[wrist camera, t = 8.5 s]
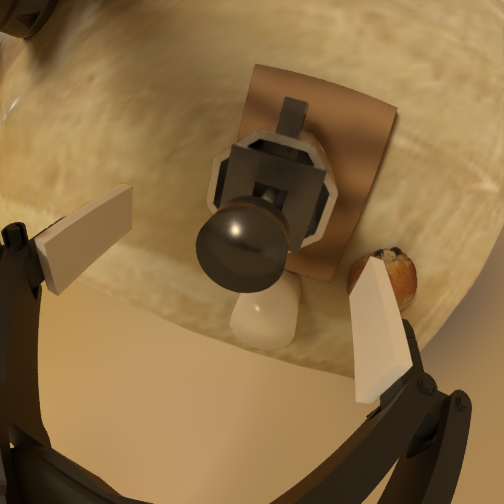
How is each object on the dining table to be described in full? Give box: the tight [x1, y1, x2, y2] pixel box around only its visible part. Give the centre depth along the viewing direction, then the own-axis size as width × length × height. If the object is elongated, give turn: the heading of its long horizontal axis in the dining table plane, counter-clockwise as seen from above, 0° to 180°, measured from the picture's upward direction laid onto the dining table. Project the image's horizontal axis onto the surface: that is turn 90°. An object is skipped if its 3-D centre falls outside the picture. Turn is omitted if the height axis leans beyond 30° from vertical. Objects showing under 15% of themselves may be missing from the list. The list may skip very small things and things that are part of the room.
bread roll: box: [347, 247, 417, 312], centre depth 33 cm, size 10×10×8 cm
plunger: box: [196, 141, 315, 293], centre depth 20 cm, size 7×7×18 cm
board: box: [237, 64, 397, 283], centre depth 30 cm, size 24×16×1 cm, turn 167°
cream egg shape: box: [229, 269, 301, 350], centre depth 36 cm, size 9×8×9 cm
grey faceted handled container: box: [206, 96, 338, 254], centre depth 24 cm, size 13×10×12 cm
